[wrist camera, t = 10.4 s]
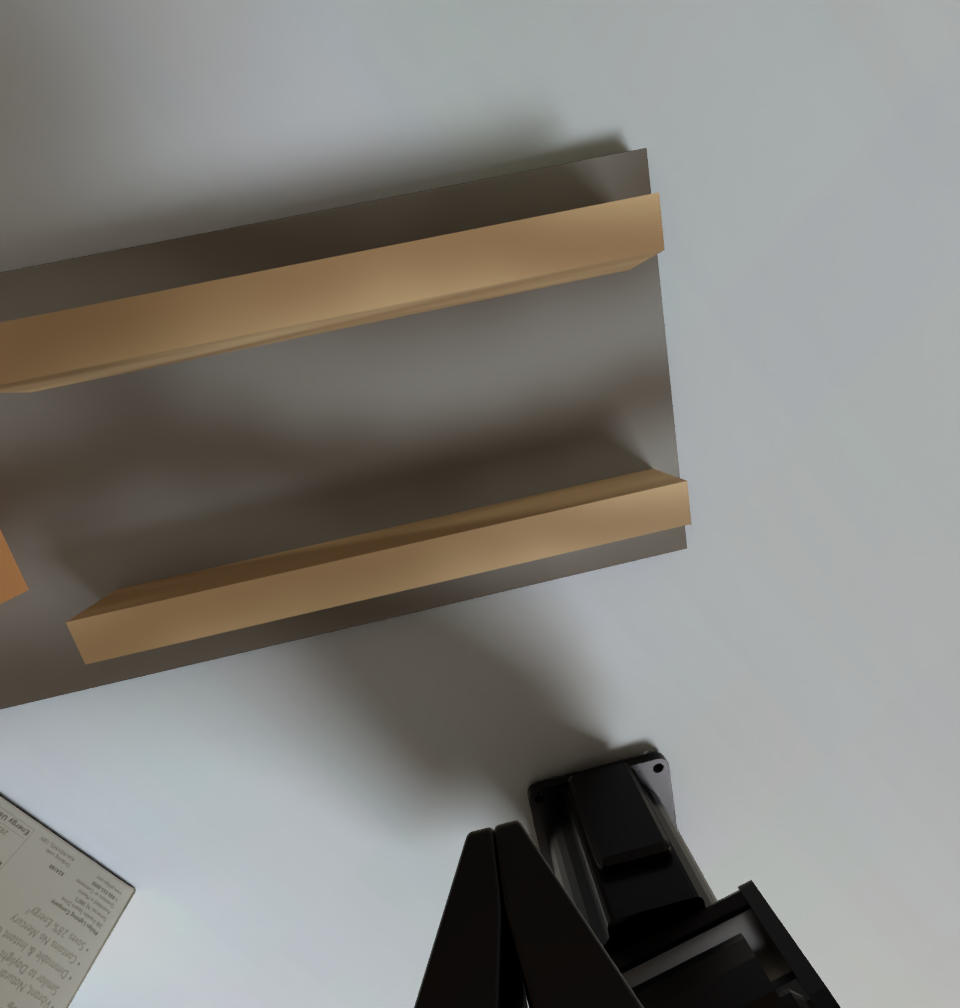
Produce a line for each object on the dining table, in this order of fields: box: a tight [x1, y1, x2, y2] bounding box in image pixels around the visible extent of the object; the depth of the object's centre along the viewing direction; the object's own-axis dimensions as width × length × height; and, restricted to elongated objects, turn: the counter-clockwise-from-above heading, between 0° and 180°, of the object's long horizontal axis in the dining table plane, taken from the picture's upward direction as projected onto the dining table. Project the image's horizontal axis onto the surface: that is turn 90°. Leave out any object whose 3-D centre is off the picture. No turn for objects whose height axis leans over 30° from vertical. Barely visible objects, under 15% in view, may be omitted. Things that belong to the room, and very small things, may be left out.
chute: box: [0, 148, 691, 709], centre depth 16 cm, size 14×33×3 cm, turn 101°
